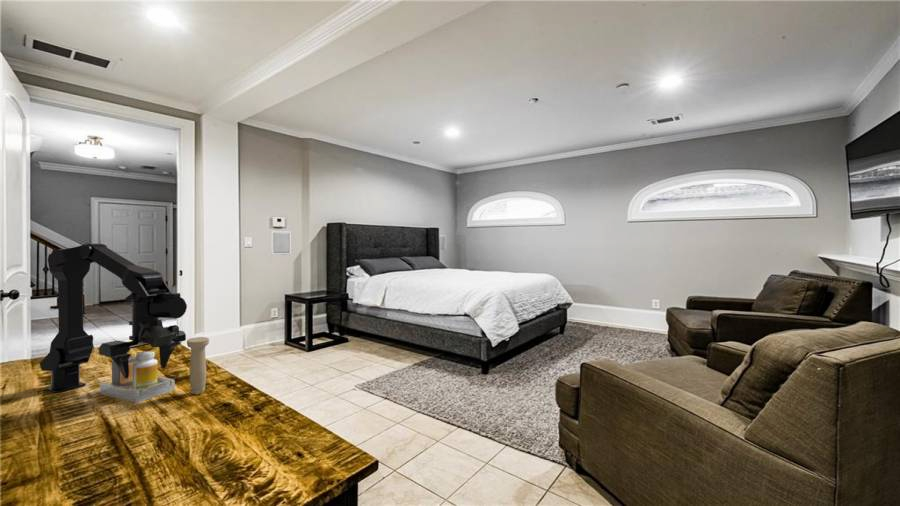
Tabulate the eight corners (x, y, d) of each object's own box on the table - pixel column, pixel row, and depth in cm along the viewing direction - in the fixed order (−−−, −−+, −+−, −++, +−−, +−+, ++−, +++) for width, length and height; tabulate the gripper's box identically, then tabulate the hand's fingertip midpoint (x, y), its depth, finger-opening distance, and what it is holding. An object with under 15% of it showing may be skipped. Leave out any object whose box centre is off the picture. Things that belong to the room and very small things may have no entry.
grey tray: (99, 393, 105) (99, 363, 105) (139, 382, 114) (139, 354, 114) (136, 402, 99) (136, 370, 99) (174, 390, 108) (174, 360, 108)
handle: (191, 398, 102) (191, 343, 102) (184, 392, 106) (184, 339, 106) (211, 393, 106) (211, 339, 106) (203, 387, 110) (204, 336, 110)
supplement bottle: (162, 385, 107) (162, 351, 107) (141, 392, 102) (141, 356, 102) (149, 383, 109) (149, 349, 108) (128, 389, 104) (128, 354, 103)
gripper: (124, 325, 93) (124, 388, 94) (198, 313, 111) (198, 366, 111) (97, 322, 97) (97, 382, 98) (173, 310, 115) (173, 362, 115)
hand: (145, 373), depth 105 cm, fingers open, 9 cm apart
